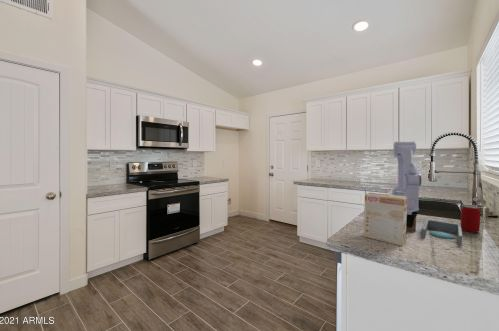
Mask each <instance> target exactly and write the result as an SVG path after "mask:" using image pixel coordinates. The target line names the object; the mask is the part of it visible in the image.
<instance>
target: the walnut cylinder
mask: <svg viewBox="0 0 499 331" xmlns="http://www.w3.org/2000/svg"><path fill="white" fill-rule="evenodd" d="M416 226H417V216H416V217H415V220H414V223H413V227H412V228H409V227H407V226H406V232H407V231H408V232H416V231H417V230H416V229H417V227H416Z"/></svg>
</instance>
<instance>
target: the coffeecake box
mask: <svg viewBox="0 0 499 331" xmlns="http://www.w3.org/2000/svg"><path fill="white" fill-rule="evenodd" d="M363 209H364V216H363V218H364V219H363V237H364V238H369V239H372V240H377V241H381V242H384V243H385V242H386V243H389V244H392V245H398V246H401V247H402V246H403V245H404V244H405V243H406V240H407V237H406V236H407V230H406V218H407V197H405V196H395V195H392V194H386V193H385V194H384V193H377V192H376V193H375V192H368V193H365V194H364V208H363Z"/></svg>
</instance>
